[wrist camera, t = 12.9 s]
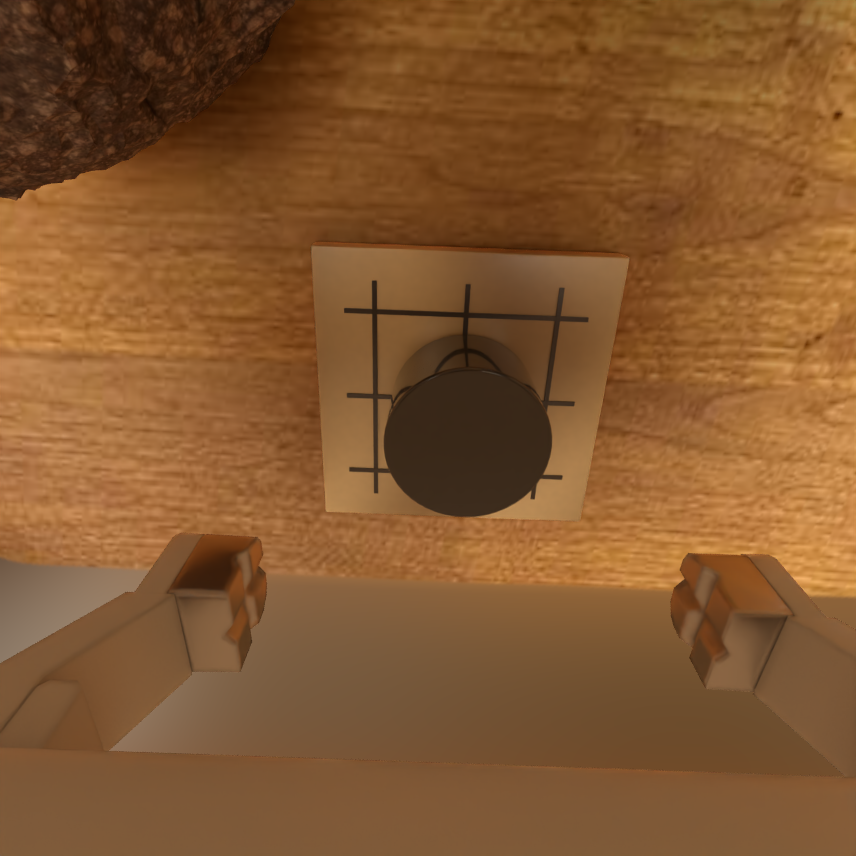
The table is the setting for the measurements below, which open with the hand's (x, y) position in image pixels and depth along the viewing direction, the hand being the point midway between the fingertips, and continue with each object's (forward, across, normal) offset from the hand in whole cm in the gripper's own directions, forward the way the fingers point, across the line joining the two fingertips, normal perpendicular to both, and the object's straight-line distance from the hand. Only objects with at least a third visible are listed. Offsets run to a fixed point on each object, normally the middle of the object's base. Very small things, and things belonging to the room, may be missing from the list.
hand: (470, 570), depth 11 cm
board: (+10, 0, 0) cm, 10 cm away
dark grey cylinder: (+9, 0, 0) cm, 9 cm away
